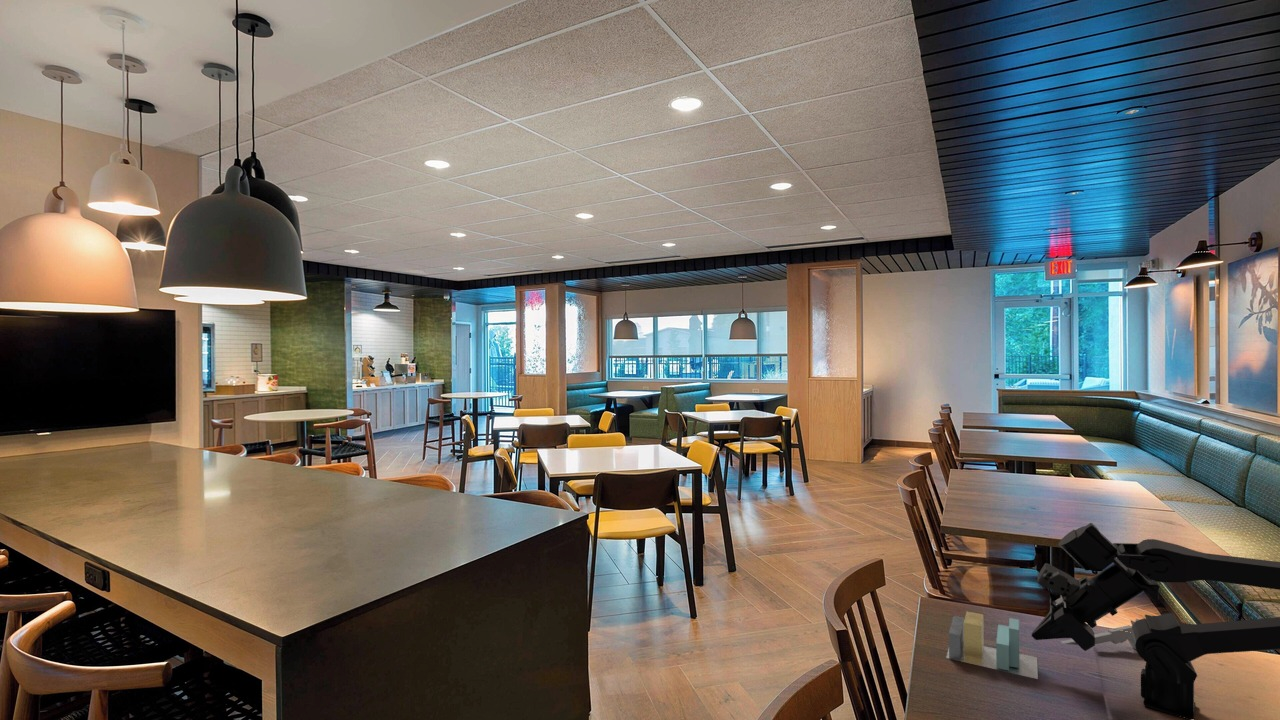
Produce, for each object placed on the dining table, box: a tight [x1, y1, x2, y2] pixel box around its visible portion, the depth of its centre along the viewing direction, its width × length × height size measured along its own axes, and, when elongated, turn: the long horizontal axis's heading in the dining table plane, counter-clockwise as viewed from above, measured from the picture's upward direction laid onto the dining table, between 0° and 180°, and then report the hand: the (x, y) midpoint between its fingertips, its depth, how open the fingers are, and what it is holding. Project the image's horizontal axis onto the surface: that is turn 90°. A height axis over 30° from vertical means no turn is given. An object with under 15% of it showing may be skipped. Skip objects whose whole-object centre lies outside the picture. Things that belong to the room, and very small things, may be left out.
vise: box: [945, 615, 1039, 680], centre depth 119 cm, size 15×9×6 cm, turn 57°
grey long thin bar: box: [1060, 618, 1140, 650], centre depth 124 cm, size 20×1×6 cm, turn 90°
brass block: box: [964, 611, 985, 662], centre depth 120 cm, size 3×6×7 cm, turn 147°
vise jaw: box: [995, 617, 1020, 671], centre depth 117 cm, size 4×9×7 cm, turn 147°
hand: (1033, 637), depth 115 cm, fingers closed
